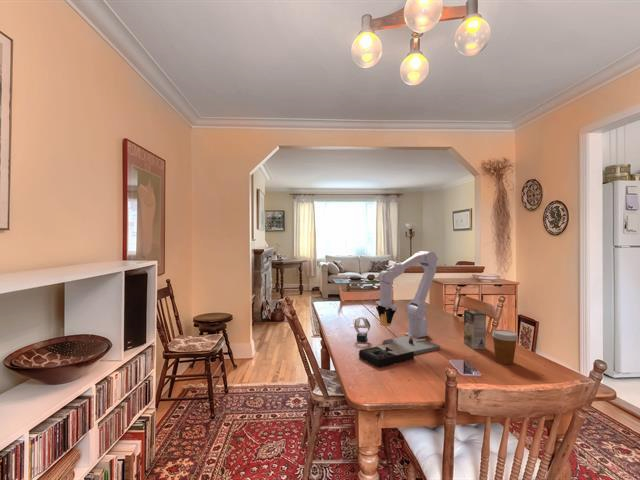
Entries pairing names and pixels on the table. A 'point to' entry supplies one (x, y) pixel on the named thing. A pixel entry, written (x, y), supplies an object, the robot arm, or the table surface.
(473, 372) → the mobile phone
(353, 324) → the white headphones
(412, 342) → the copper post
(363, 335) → the watch
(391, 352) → the multimeter
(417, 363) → the table surface
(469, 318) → the coffee box
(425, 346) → the board
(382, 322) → the orange cap
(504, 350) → the disposable coffee cup
